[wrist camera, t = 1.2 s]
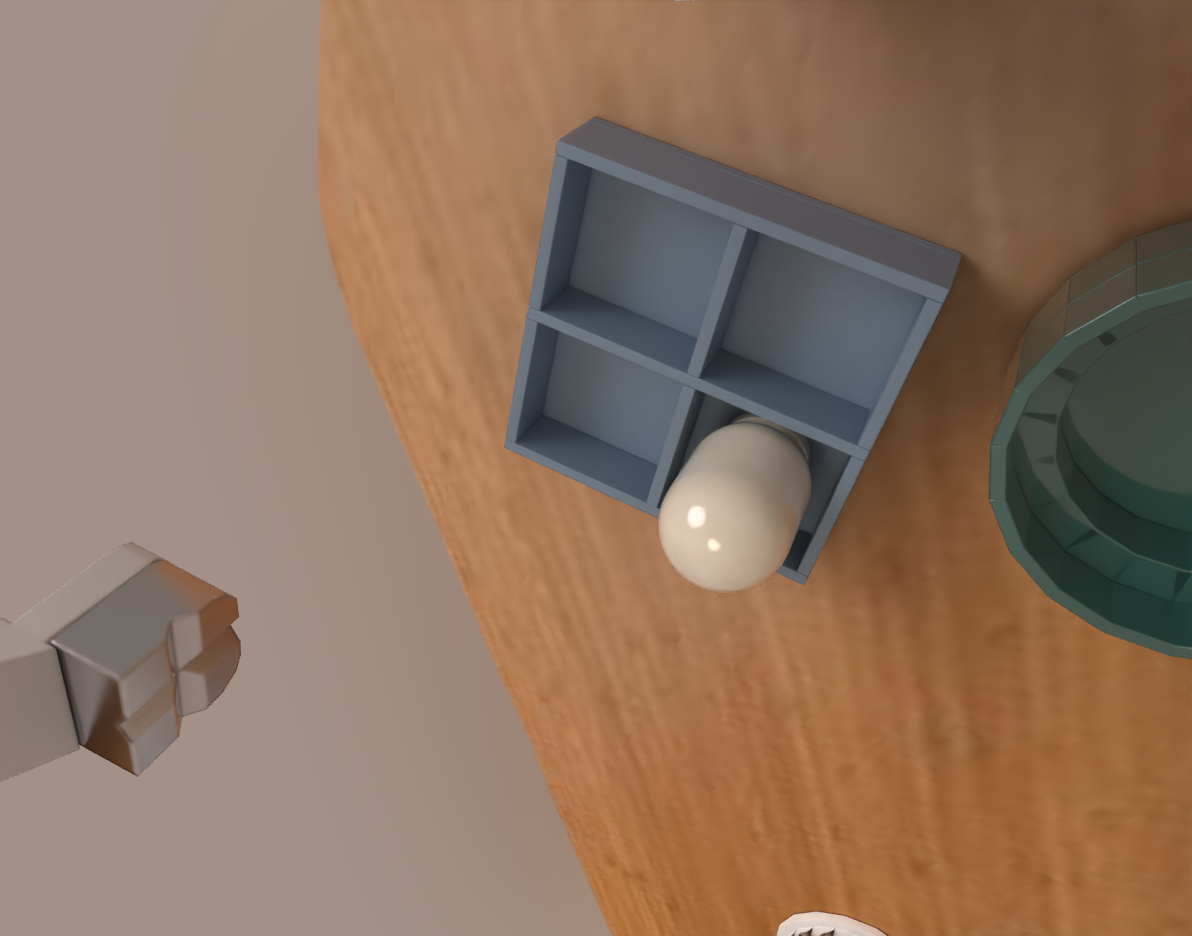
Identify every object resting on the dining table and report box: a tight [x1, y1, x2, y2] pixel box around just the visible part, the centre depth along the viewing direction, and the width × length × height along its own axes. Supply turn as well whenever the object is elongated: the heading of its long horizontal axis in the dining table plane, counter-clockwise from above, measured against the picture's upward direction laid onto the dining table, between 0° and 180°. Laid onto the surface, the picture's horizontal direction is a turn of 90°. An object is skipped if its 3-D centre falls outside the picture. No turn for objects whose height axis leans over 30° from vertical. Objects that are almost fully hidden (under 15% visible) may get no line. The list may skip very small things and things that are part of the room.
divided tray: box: [504, 117, 962, 585], centre depth 37 cm, size 14×14×3 cm
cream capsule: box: [658, 412, 812, 594], centre depth 36 cm, size 5×5×8 cm
